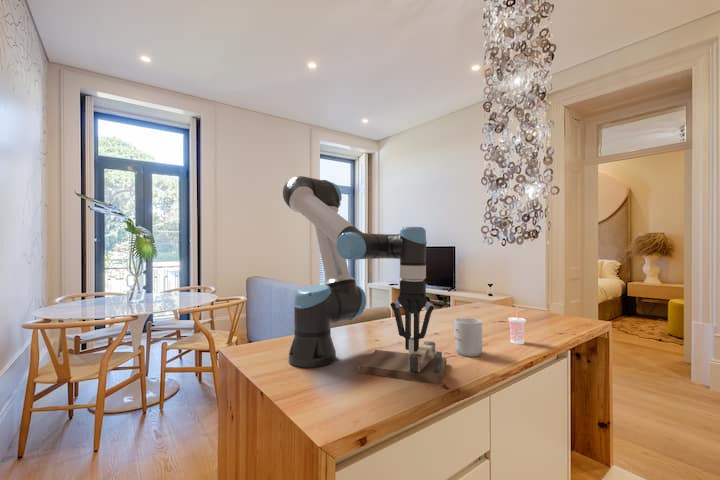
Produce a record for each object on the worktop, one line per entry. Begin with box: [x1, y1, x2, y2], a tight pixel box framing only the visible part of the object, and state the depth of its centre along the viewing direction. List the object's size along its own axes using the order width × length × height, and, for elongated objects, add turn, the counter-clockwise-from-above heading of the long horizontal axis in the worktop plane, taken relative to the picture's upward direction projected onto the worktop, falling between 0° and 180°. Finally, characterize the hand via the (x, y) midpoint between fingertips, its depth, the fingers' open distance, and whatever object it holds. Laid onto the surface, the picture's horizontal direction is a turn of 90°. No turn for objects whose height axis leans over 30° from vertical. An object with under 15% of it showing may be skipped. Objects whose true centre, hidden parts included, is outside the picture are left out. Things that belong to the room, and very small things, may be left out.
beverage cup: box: [507, 305, 527, 345], centre depth 127 cm, size 6×6×14 cm
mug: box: [453, 317, 483, 358], centre depth 115 cm, size 12×9×11 cm
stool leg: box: [409, 340, 436, 372], centre depth 97 cm, size 16×3×4 cm, turn 151°
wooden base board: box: [358, 349, 448, 384], centre depth 99 cm, size 23×16×6 cm
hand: (412, 361), depth 96 cm, fingers closed
